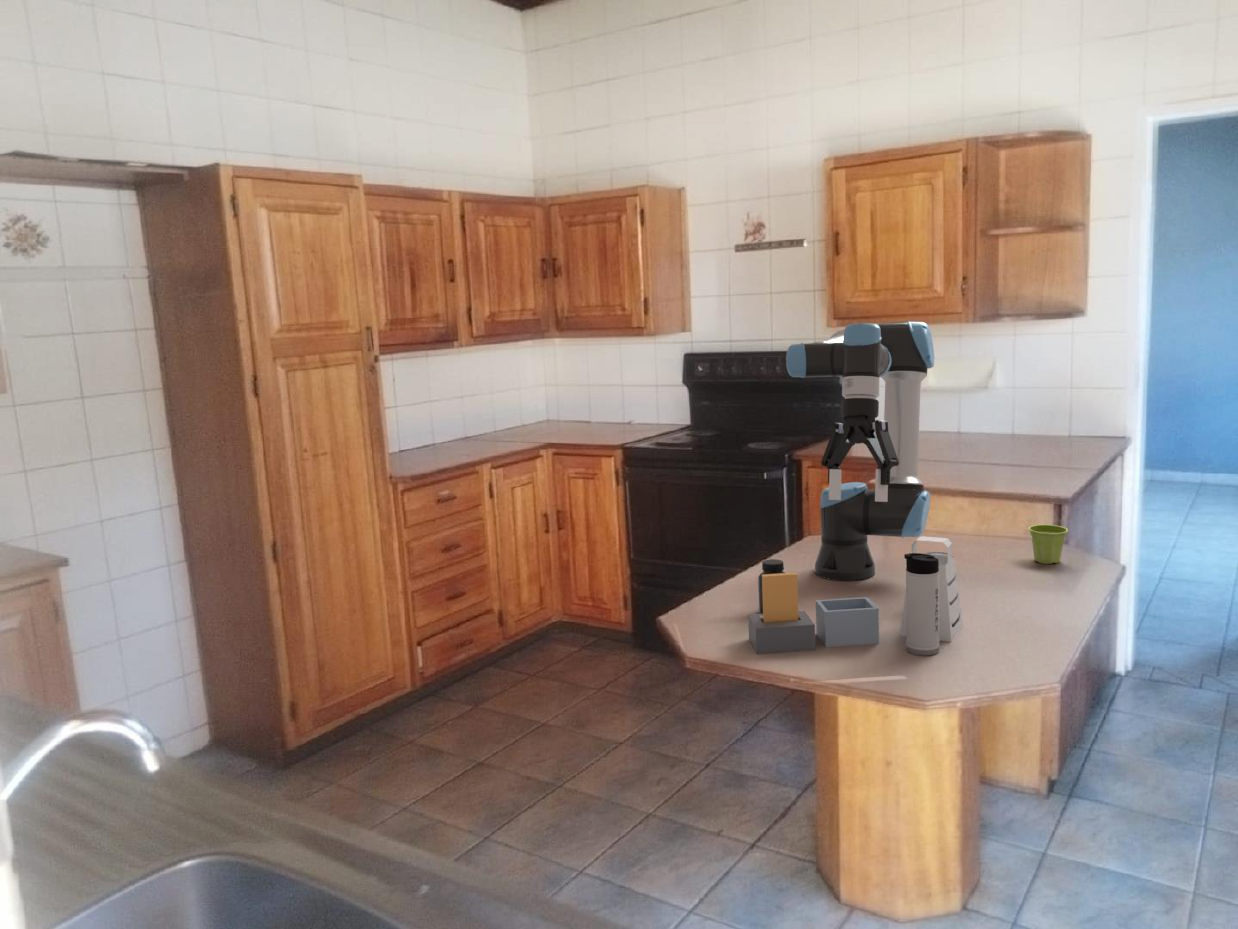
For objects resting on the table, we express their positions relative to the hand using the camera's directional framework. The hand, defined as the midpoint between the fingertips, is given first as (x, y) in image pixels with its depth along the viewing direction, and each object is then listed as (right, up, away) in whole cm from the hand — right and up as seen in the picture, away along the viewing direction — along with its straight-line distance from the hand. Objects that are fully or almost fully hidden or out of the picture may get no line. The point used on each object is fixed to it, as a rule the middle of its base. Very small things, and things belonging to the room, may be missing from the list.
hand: (857, 500), depth 202 cm
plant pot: (+62, -18, +52) cm, 83 cm away
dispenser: (-16, -30, 0) cm, 34 cm away
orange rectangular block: (-16, -30, 0) cm, 34 cm away
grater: (+17, -28, +5) cm, 33 cm away
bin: (-2, -29, +1) cm, 29 cm away
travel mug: (+12, -30, -6) cm, 33 cm away
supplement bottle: (-14, -27, +23) cm, 38 cm away
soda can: (+24, -25, +21) cm, 40 cm away
